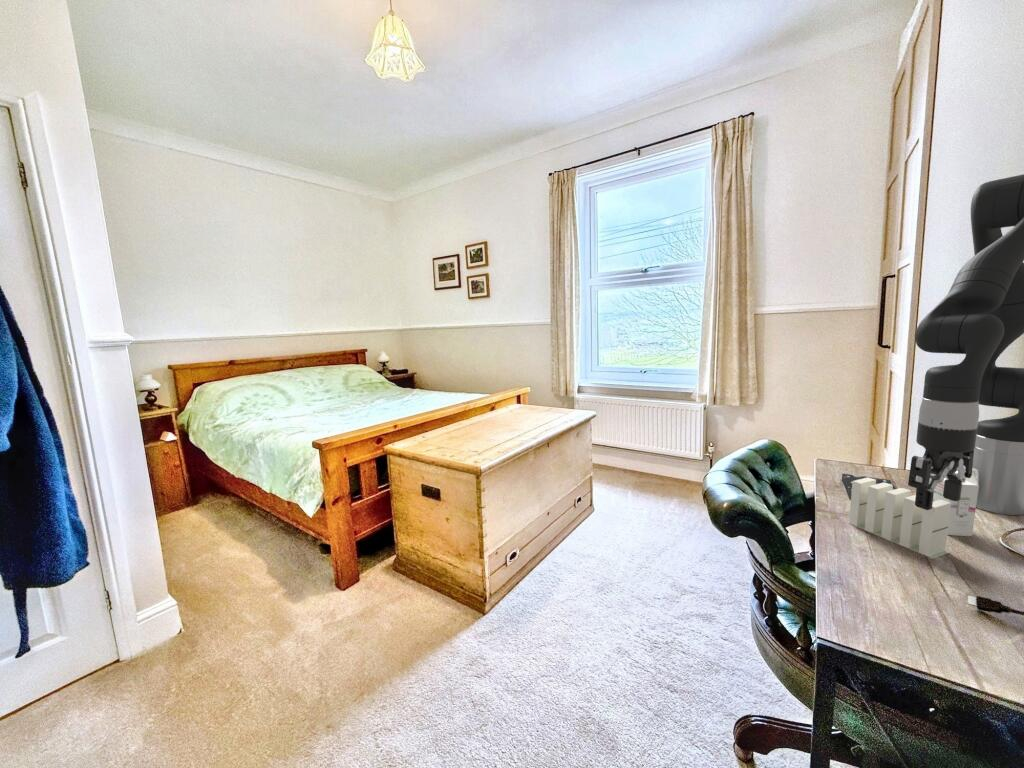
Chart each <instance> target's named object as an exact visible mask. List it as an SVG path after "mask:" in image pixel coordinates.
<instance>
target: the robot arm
mask: <svg viewBox="0 0 1024 768" xmlns="http://www.w3.org/2000/svg"><path fill="white" fill-rule="evenodd" d="M970 226H971V234H972V236H971V237H972V243H973V254H974V255H973V256H972V257H971V258H970V259H969V260H967V262H965V263H964V265H962V267H961V268H960V270H959V271H958V273H957V274H956V275H955V276H956V277H955V278H954V281H953V283H952V285H951V287H950V289H949V291H948V293H947V295H945V297H944V298H942V300H941V301H940V302H938V303H937V305H936V306H935V307H934V308H932V310H930V312H928V313H927V314H926V316H924V318H922V320H921V321H920V323H919V324H918V326H917V328H916V330H915V333H914V341H915V344H916V346H917V347H918V348H919V349H920V350H921V351H924V352H925V353H932V354H933V353H934V354H954V355H959V354H960V355H965V357H964V358H963V360H961V362H959V363H957V364H947V365H939V366H932V367H930V368H929V369H927V371H926V372H925V375H924V383H923V393H922V400H921V402H920V406H919V411H918V412H919V413H918V421H917V429H916V443H917V445H919V446H922V448H924V453H923V455H922V457H921V456H918V455H913V456H912V457H911V460H910V461H911V462H910V469H909V474H908V480H907V481H908V482H907V486H909V487H911V488H915V489H916V490H915V495H916V498H915V505H916V506H917V507H919V508H922V509H925V510H930V509H932V504H933V495H934V492H933V491H934V489H935V487H936V486H937V484H938V483H941V482H943V480H944V478H946V479H948V480H945V483H944V491H943V497H944V498H946V499H949V500H952V501H959V500H960V497H961V489H962V483H964V482H965V481H966V478H971V476H972V468H973V469H976V470H978V472H979V480H978V485H979V489H978V496H977V503H976V509H980V510H984V511H988V512H992V513H996V514H1002V515H1007V516H1009V515H1010V516H1023V515H1024V367H1008V366H1004V367H1003V366H997V365H996V361H997V360H998V358H999V357H1000V356H1001V354H1003V352H1004V351H1005V350H1006V349H1007V348H1008V347H1009V346H1010V345H1012V343H1014V342H1015V341H1016V340H1017V339H1019V338H1020V337H1021V336H1022V335H1024V173H1023V174H1018V175H1014V176H1009V177H1005V178H998V179H995V180H990V181H986V182H984V183H982V184H980V185H979V186H978V187H976V188H975V191H974V193H973V195H972V197H971V203H970ZM1009 227H1012V228H1011V229H1009V231H1007V232H1006V233H1005V234H1004V235H1003V232H1002V229H1003V228H1009ZM981 405H982V406H987V407H995V408H996V407H997V408H1004V409H1005V408H1006V409H1015V410H1018V412H1017V413H1016V414H1014V415H1011V416H1006V417H1002V418H993V419H984V420H980V421H979V419H980V407H979V406H981ZM964 466H965V468H964ZM931 474H933V475H931ZM930 480H931V482H930V484H929V481H930Z"/></svg>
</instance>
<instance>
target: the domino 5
mask: <svg viewBox="0 0 1024 768" xmlns="http://www.w3.org/2000/svg"><path fill="white" fill-rule="evenodd" d="M950 509H951V503H950V502H947V501H944V500H937V501H933V504H932V509H930V510H925V509H923V517H922V526H921V534H920V543H919V551H918V552H920V553H919V554H921V553H922V554H921V555H923V554H925V555H927V556H926V557H928V556H931V555H934V554H937V553H940V552H943V551H946V547H947V538H948V535H947V532H948V525H949V517H950ZM918 552H917V553H918ZM925 555H924V556H925Z"/></svg>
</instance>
